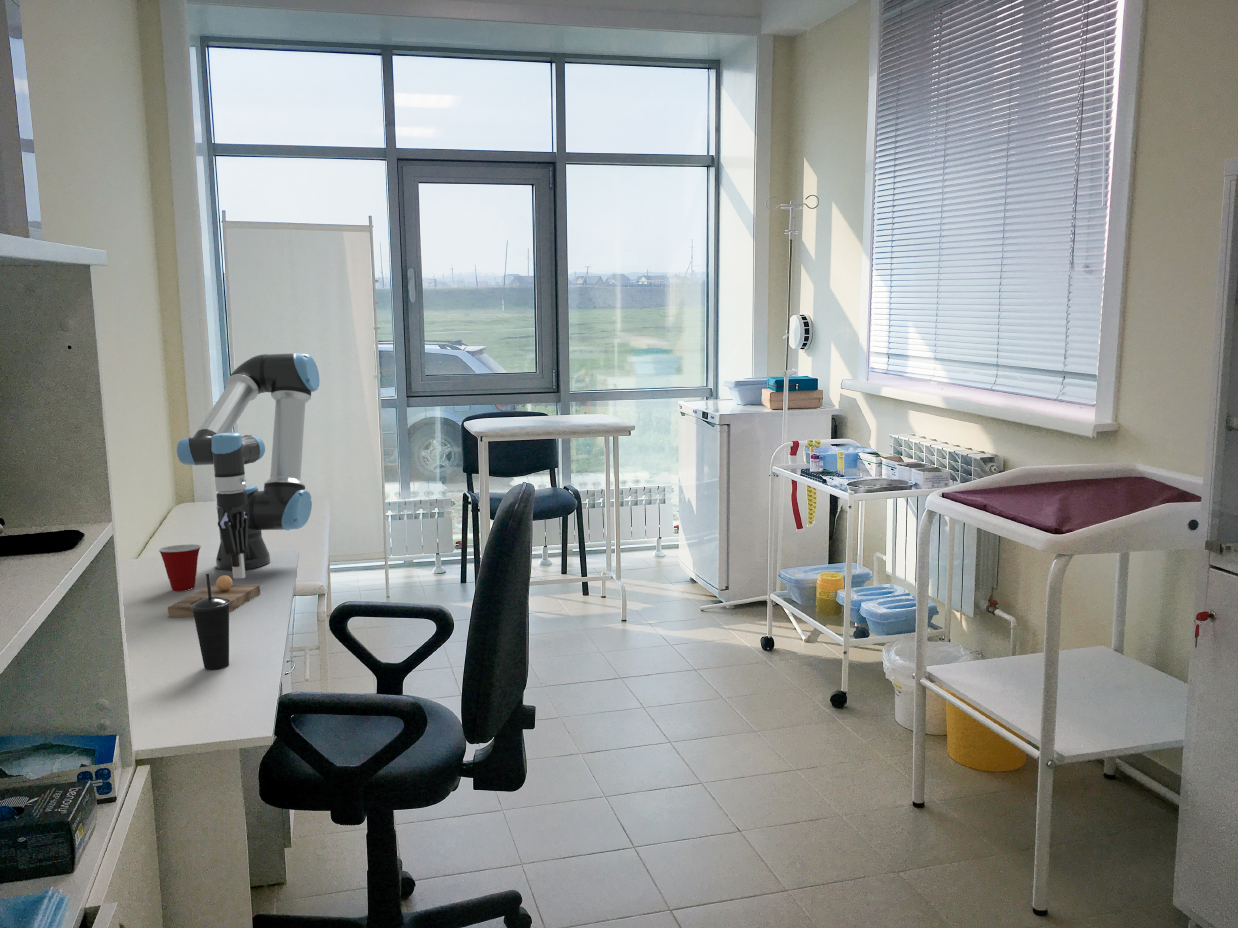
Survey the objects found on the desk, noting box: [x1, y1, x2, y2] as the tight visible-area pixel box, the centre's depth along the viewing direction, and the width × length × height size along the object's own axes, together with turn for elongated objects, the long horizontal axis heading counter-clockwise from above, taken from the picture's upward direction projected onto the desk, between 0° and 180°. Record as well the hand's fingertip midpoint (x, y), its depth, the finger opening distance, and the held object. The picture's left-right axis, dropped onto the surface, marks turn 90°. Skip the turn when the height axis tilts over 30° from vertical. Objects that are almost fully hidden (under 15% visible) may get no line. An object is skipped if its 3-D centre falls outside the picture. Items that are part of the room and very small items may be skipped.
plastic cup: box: [157, 543, 202, 592], centre depth 269 cm, size 11×11×12 cm
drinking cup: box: [191, 573, 230, 671], centre depth 205 cm, size 8×8×20 cm
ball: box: [215, 574, 233, 591], centre depth 257 cm, size 4×4×4 cm
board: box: [167, 584, 261, 618], centre depth 252 cm, size 20×14×2 cm
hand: (239, 577), depth 264 cm, fingers closed
